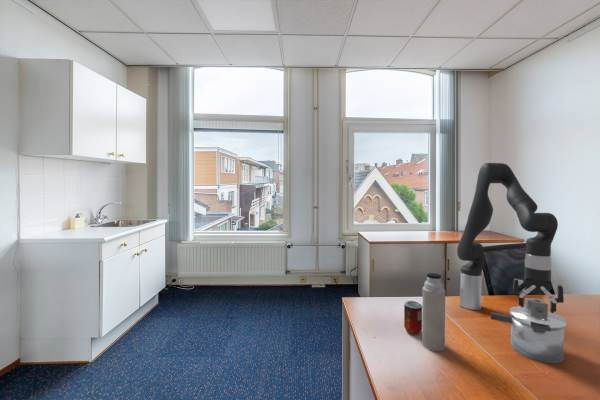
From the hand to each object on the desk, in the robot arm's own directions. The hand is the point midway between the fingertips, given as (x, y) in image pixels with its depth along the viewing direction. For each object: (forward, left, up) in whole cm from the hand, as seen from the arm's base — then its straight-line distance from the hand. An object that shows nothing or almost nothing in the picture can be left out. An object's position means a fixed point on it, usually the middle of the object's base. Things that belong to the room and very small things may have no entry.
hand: (536, 309), depth 104 cm
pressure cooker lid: (0, -1, -4) cm, 4 cm away
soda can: (-41, -10, -16) cm, 46 cm away
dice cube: (0, +1, -2) cm, 3 cm away
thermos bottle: (-32, -17, -16) cm, 40 cm away
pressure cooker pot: (-3, +1, -16) cm, 16 cm away
